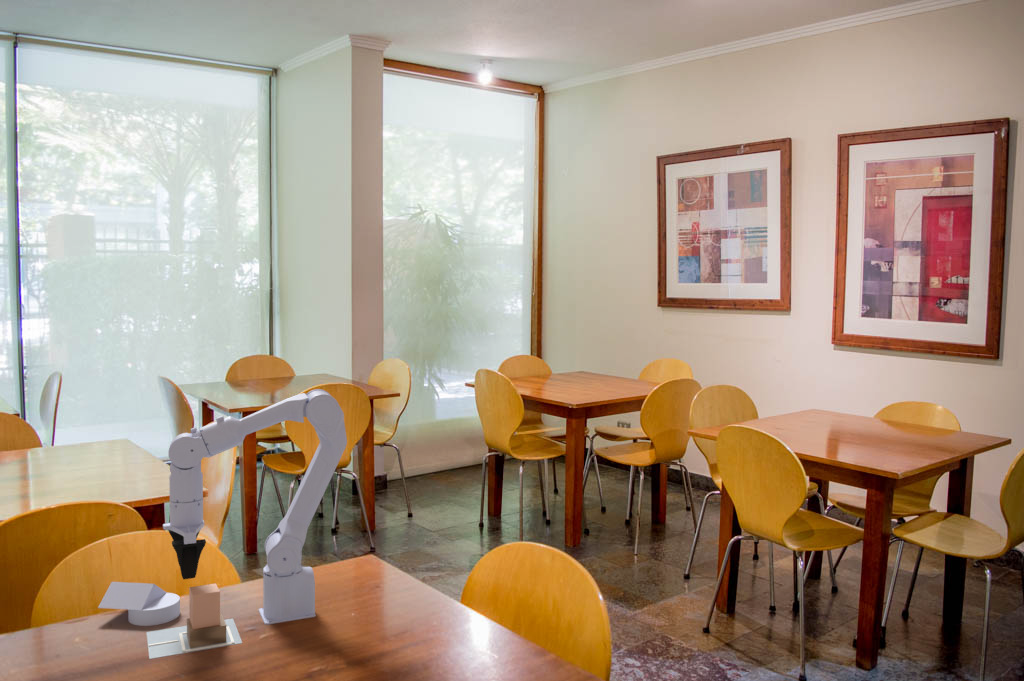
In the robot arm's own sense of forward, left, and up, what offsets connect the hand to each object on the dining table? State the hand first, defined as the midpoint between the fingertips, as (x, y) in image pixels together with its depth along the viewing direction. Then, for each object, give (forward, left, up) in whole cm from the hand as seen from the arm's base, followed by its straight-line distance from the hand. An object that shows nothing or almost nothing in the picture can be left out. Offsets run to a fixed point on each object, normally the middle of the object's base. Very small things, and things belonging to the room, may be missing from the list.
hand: (187, 571), depth 150 cm
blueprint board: (0, +7, -10) cm, 12 cm away
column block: (-2, +8, -7) cm, 11 cm away
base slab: (-2, +8, -10) cm, 13 cm away
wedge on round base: (+7, -8, -11) cm, 15 cm away
